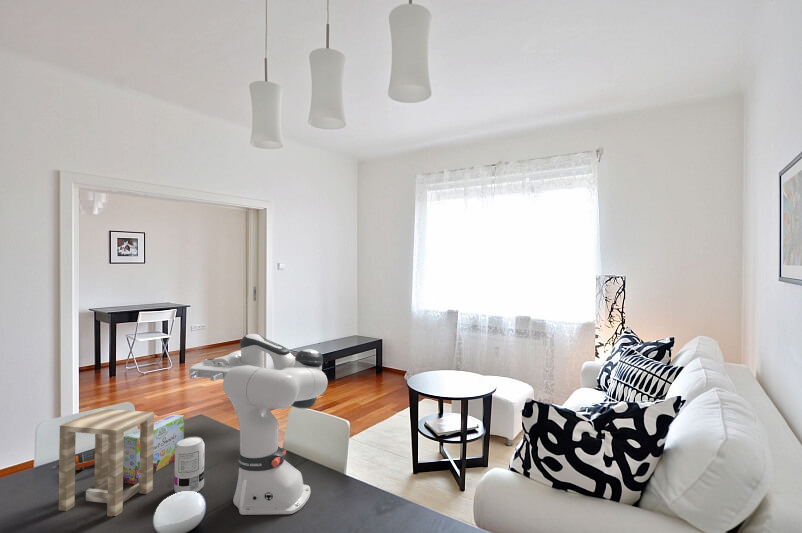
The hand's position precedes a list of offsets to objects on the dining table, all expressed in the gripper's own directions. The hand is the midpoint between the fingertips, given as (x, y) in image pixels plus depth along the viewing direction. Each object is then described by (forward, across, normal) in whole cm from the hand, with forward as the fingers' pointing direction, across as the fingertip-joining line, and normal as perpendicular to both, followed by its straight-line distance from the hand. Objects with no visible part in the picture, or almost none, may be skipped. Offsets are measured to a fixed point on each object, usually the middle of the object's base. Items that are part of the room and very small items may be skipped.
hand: (201, 378), depth 162 cm
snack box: (+24, 0, -24) cm, 34 cm away
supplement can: (+32, -20, -23) cm, 45 cm away
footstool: (+43, -1, -22) cm, 48 cm away
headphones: (+28, +24, -24) cm, 43 cm away
